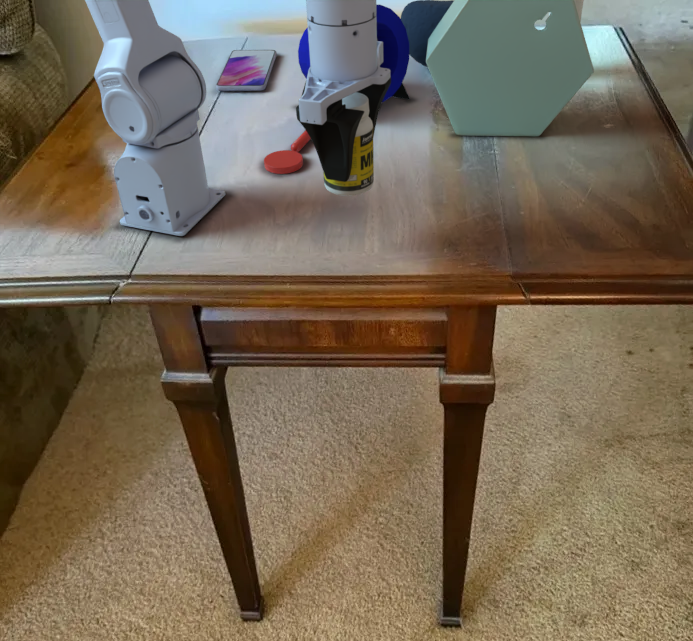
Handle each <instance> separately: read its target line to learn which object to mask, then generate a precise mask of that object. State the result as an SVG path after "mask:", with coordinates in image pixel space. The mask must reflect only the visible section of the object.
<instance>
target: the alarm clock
mask: <svg viewBox="0 0 693 641" xmlns="http://www.w3.org/2000/svg"><path fill="white" fill-rule="evenodd" d="M376 12H377V13H376V19H377V41H381V42H383V63H382V64H381V65H380V67H381V68H387V69H390V76H391V84H390V86H389V88H388V90H387V92H386V94H385V97H384V99H383V101H382V104H383V103H384V102H386V101H387V100H389V99H390V98H396V99H397V98H398V99H402V100H410V101H411V98H410V96H409V93H408V91H407V89H406V87H405V85H404V83H403V81H404V80H405V77H406V76H407V71H408V66H409V62H410V55H409V40H408V36H407V31H406V28H405V26H404V25H403V23H402V21H401V16H399V15H398V14H397V13H396V12H395V11H394V10H393V9H392V8H390V7H388V6H384V5H382V4H376ZM297 56H298V57H297V58H298V64H299V68H300V70H301V71H300V72H301V74H302V75H303V76H304V78H305V79H306V80H305V82H304V86H303V89H302V92H301V96H300V98H301V97H302V95H303V94H304V91H305V86H306V81H307V75H308V70H309V68H310V52H309V38H308V26H307V27H306V28H305V29H304V31H303V33H302V35H301V37H300V39H299V44H298V50H297Z"/></svg>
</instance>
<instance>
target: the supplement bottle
mask: <svg viewBox="0 0 693 641" xmlns="http://www.w3.org/2000/svg"><path fill="white" fill-rule="evenodd" d="M344 104H345V105H346V109H353V110H361V111H364V114H363V116H362V118H361V120H360V122H359V125H358V128H357V131H356V135H355V140H354V146H353V157H352V168H351V173H350V177H349V179H348V180H347V182H342V181H336V180H330V179H326V177H325V174H324V173H323V184H324V187H325V189H326V190H327V191H328V192H330V193H331V194H334V195H337V196H341V197H343V196H345V197H353V196H358V195H363V194H365V193H367V192H368V191H369V190H371V189H372V188H373V186H374V182H375V178H374V176H375V172H374V170H375V169H374V168H375V167H374V166H375V164H374V163H375V162H374V161H375V160H374V137H373V123H372V120H371V119H370V118H369V117H368V116H369V101H368V97H367V96H366V95H364V94H362V93H358V92H355V93H353V94H351V95H349V96H347V97H345V98H343V99H342V105H344Z"/></svg>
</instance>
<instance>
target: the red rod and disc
mask: <svg viewBox="0 0 693 641" xmlns="http://www.w3.org/2000/svg"><path fill="white" fill-rule="evenodd" d="M310 140H311V138H310V136H309V135H308V133H307V131H306V130H305V129H304V131H303V132H302V133H301V134H300V135H299V136H298V137H297V139H295V140H294V141H293V142H292V143H291V145H290V150H289V149H288V150H287V149H284V150H283V149H281V150H277V151H272V152H270V153H268V154H267V155H266V156H265V157H264V158H263V165H264V169H265V170H266V171H267V172H269V173H272V174H277V175H278V174H279V175H285V174H291V173H295V172H296V171H299V170H300V169H301V168H302V167H303V165H304V159H303V155H302V154H301V152H300V151H301V150H302V149H303V148H304V147H305V146H306V145H307V144H308V143H309V142H310Z"/></svg>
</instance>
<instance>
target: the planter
mask: <svg viewBox="0 0 693 641" xmlns="http://www.w3.org/2000/svg"><path fill="white" fill-rule="evenodd" d="M453 1H454V2H453V3H452V5H451V6H450V8H449V9H448V11H447V12H446V13H445V15H444V16H443V18H442V19H441V21H440V22H439V24H438V25H437V27H436V28H435V30H434V31H433V33H432V34H431V36H430V37H429V39H428V46H427V55H426V64H427V66H428V67H427V68H428V71H429V74H430V76H431V78H432V81H433V83H434V86H435V88H436V92H437V93H438V95H439V98H440V101H441V102H442V105H443V107H444V110H445V112H446V115H447V117H448V119H449V120H448V121H449V122H450V124H451V127H452V129H453V132H454V134H455V135H457V136H472V137H475V136H477V137H478V136H479V137H540V136H541V135H542V134H543V132H545V130H546V129H547V128H548V127H549V126H550V124H552V122H553V121H554V120H555V119H556V117H557V116H558V115H559V114H560V113H561V112H562V110H563V109H564V108H565V107H566V106H567V105H568V104H569V102H570V101H571V100H572V98H574V96H575V95H576V94H577V93H578V92H579V91H580V89H581V88H582V87H583V86H584V85H585V83H586V82H587V81H588V80H589V79H590V77H591V76H593V74H594V72H595V68H594V65H593V62H592V57H591V54H590V52H589V48H588V44H587V40H586V37H585V34H584V30H583V27H582V23H581V22H580V19H579V16H578V12H577V9H576V5H575V2H574V0H453ZM549 12H551V14H550V15H549ZM547 14H548V16H547ZM546 16H547V18H546V19H545V27H544V28H542V29H538V28H537V27H536V26H535V24H536V22H537V21H542V20H543V19H544V18H545V17H546Z"/></svg>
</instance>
